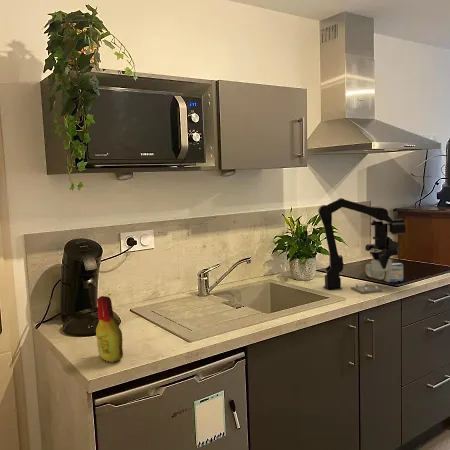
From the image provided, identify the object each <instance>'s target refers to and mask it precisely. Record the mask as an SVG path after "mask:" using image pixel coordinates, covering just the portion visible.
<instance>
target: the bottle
mask: <svg viewBox="0 0 450 450" xmlns="http://www.w3.org/2000/svg"><path fill="white" fill-rule="evenodd" d="M96 302H97V313H98V315H97V317H98V323H97V325H96V329H95V333H96V334H95V335H96V345H97V347H96V348H97V349H98V350H97V352H98V355H99V357H100V358H101V359H102V360H104V361H105V360H106V361H105V362H108V361H109V363H115V362H114V361H116V362H118V361H120V360H121V359H122V358H123V357H124V351H123V350H124V349H123V341H124V340H123V333H122V330H121V328H120V326H119V324H118V323H117V322H116V321H115V317H114V310H113V304H112V300H111V298H110V296H107V295H101V296H99V297H98V298H97V299H96ZM119 359H120V360H119ZM117 360H118V361H117Z"/></svg>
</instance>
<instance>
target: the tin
mask: <svg viewBox="0 0 450 450" xmlns="http://www.w3.org/2000/svg"><path fill="white" fill-rule="evenodd" d="M364 271H365V272H364V273H365V275H366V276H367V277H368V278H370V279H375V280H379V281H384V279H385V278H386V271H379V272H376V271H373V270H372V262H371V261H368V262H367V263H365V265H364Z"/></svg>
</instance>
